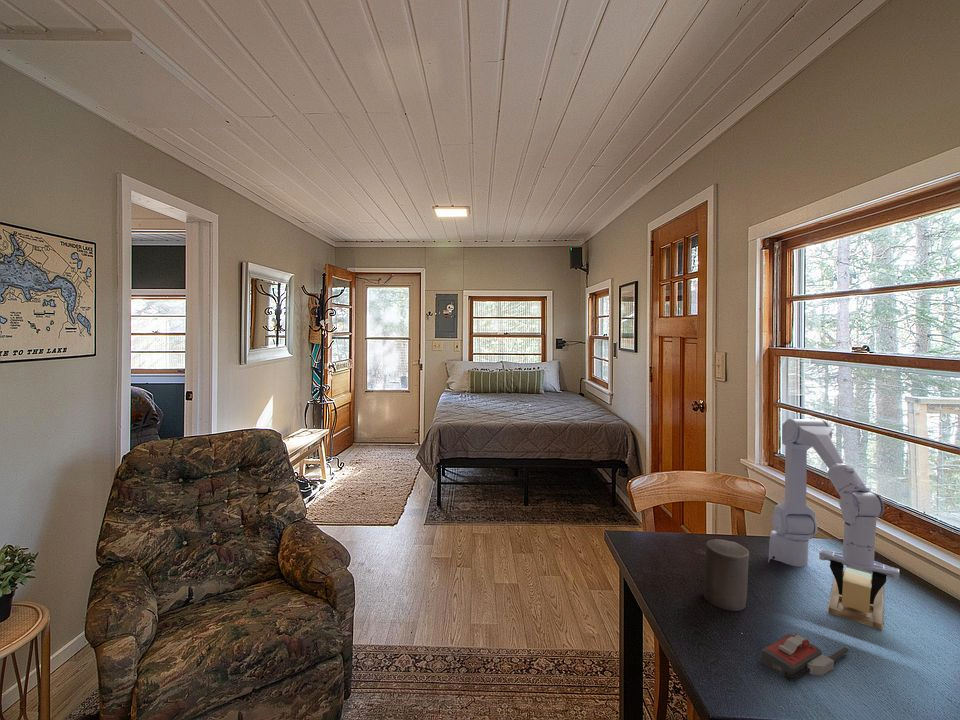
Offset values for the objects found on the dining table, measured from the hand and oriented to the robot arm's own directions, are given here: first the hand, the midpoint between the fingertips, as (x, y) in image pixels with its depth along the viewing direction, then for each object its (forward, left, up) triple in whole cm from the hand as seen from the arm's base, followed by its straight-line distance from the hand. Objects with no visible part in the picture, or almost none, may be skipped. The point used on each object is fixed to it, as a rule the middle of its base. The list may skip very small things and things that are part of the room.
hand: (855, 597), depth 109 cm
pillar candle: (-25, -13, -5) cm, 29 cm away
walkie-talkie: (-7, -26, -6) cm, 27 cm away
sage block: (0, +8, -3) cm, 9 cm away
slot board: (0, +8, -5) cm, 9 cm away
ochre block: (0, 0, -2) cm, 2 cm away
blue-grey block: (0, +16, -3) cm, 16 cm away
